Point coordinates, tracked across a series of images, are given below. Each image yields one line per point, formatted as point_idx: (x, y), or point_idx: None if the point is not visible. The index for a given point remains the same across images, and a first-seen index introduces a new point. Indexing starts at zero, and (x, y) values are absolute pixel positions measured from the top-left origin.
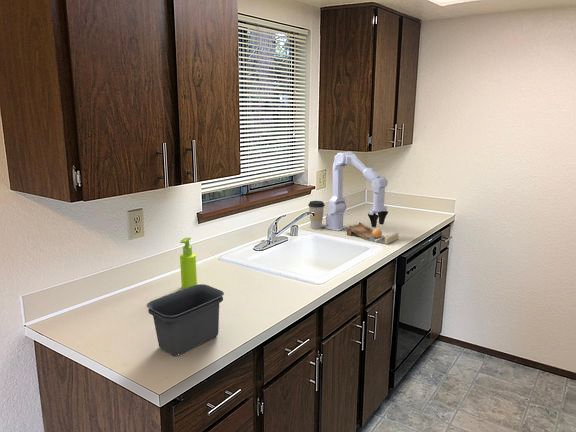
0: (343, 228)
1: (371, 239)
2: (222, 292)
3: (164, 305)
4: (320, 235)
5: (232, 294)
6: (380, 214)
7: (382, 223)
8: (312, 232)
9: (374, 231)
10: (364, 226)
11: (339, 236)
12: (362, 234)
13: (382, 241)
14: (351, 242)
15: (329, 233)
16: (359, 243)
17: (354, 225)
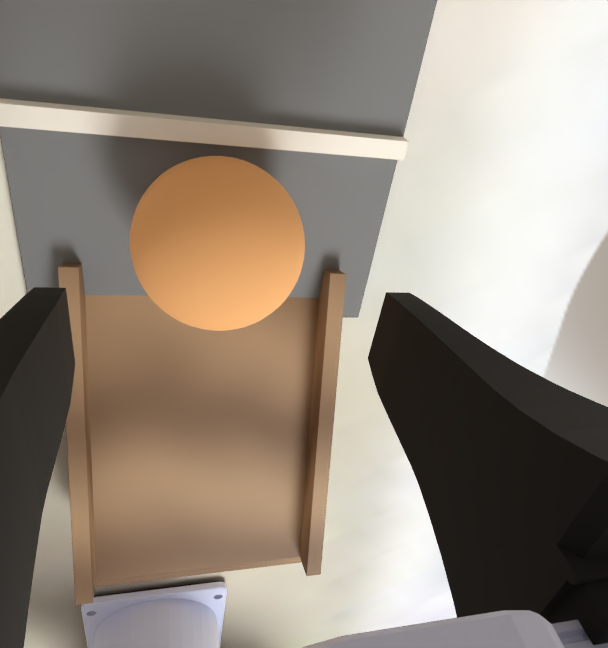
0: (134, 599)
1: (336, 233)
2: None
3: None
4: (411, 575)
5: None
6: (11, 586)
7: (61, 311)
8: (365, 628)
9: (293, 284)
10: (89, 507)
11: (368, 501)
12: (334, 378)
13: (353, 39)
14: (513, 348)
15: (325, 575)
16: (523, 273)
17: (144, 579)
